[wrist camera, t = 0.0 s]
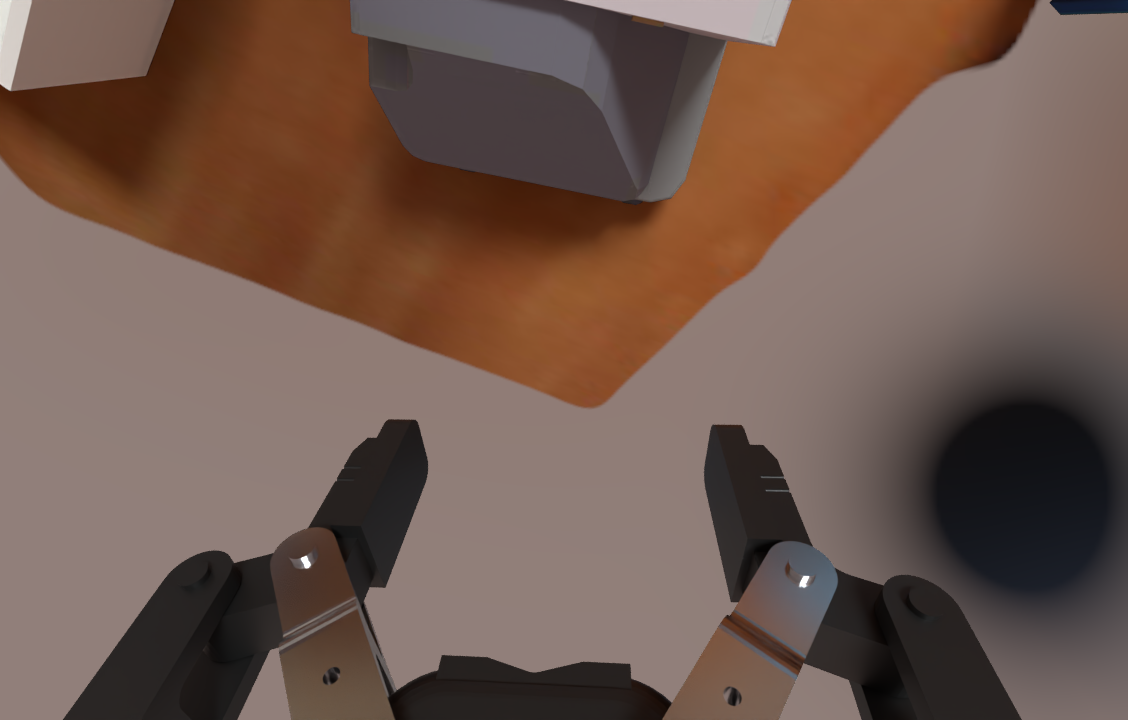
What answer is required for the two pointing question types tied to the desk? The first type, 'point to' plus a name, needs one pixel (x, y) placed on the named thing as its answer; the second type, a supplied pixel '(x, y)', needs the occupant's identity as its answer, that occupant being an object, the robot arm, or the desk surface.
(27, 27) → the storage box
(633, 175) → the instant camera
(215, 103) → the desk surface
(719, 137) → the desk surface
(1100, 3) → the book
